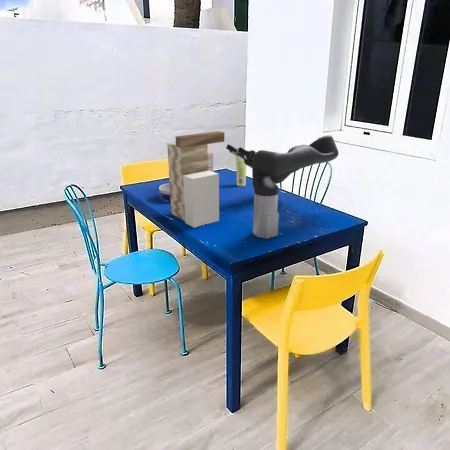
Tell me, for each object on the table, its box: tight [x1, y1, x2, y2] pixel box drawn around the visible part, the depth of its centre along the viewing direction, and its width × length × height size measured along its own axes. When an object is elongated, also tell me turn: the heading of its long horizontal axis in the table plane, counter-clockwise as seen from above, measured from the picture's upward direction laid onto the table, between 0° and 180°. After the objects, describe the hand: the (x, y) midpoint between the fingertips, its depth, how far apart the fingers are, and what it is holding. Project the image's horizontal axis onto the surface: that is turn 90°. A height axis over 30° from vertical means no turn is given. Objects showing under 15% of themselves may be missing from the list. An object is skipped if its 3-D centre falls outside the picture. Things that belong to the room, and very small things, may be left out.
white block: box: [183, 171, 220, 229], centre depth 165 cm, size 7×13×21 cm, turn 127°
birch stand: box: [166, 141, 209, 222], centre depth 172 cm, size 12×12×32 cm
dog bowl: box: [158, 182, 171, 203], centre depth 199 cm, size 15×15×6 cm
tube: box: [235, 155, 247, 187], centre depth 216 cm, size 6×5×20 cm
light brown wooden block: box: [175, 130, 225, 148], centre depth 164 cm, size 4×22×4 cm, turn 127°
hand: (232, 147), depth 176 cm, fingers open, 8 cm apart
